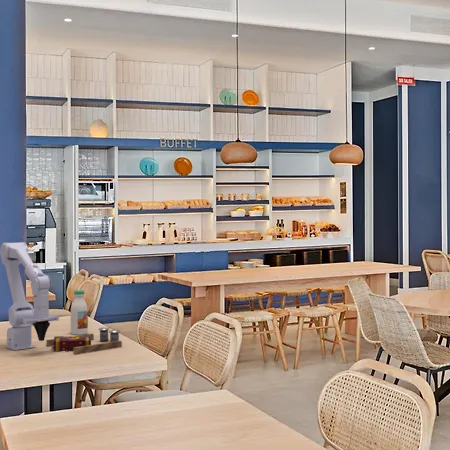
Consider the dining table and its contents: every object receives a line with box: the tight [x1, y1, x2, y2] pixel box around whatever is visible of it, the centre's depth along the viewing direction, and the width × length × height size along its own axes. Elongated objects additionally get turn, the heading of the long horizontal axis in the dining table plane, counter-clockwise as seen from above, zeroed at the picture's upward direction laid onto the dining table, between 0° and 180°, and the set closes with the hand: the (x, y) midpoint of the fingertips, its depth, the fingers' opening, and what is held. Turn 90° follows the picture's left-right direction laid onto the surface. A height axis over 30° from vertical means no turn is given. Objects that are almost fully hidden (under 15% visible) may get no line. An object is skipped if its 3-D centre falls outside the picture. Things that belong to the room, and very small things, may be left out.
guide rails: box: [46, 333, 123, 355], centre depth 282 cm, size 22×23×2 cm
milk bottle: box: [70, 289, 89, 336], centre depth 311 cm, size 8×8×20 cm
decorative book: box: [51, 334, 92, 352], centre depth 278 cm, size 11×16×5 cm
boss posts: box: [98, 326, 121, 343], centre depth 290 cm, size 5×13×6 cm, turn 43°
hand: (41, 340), depth 268 cm, fingers closed
